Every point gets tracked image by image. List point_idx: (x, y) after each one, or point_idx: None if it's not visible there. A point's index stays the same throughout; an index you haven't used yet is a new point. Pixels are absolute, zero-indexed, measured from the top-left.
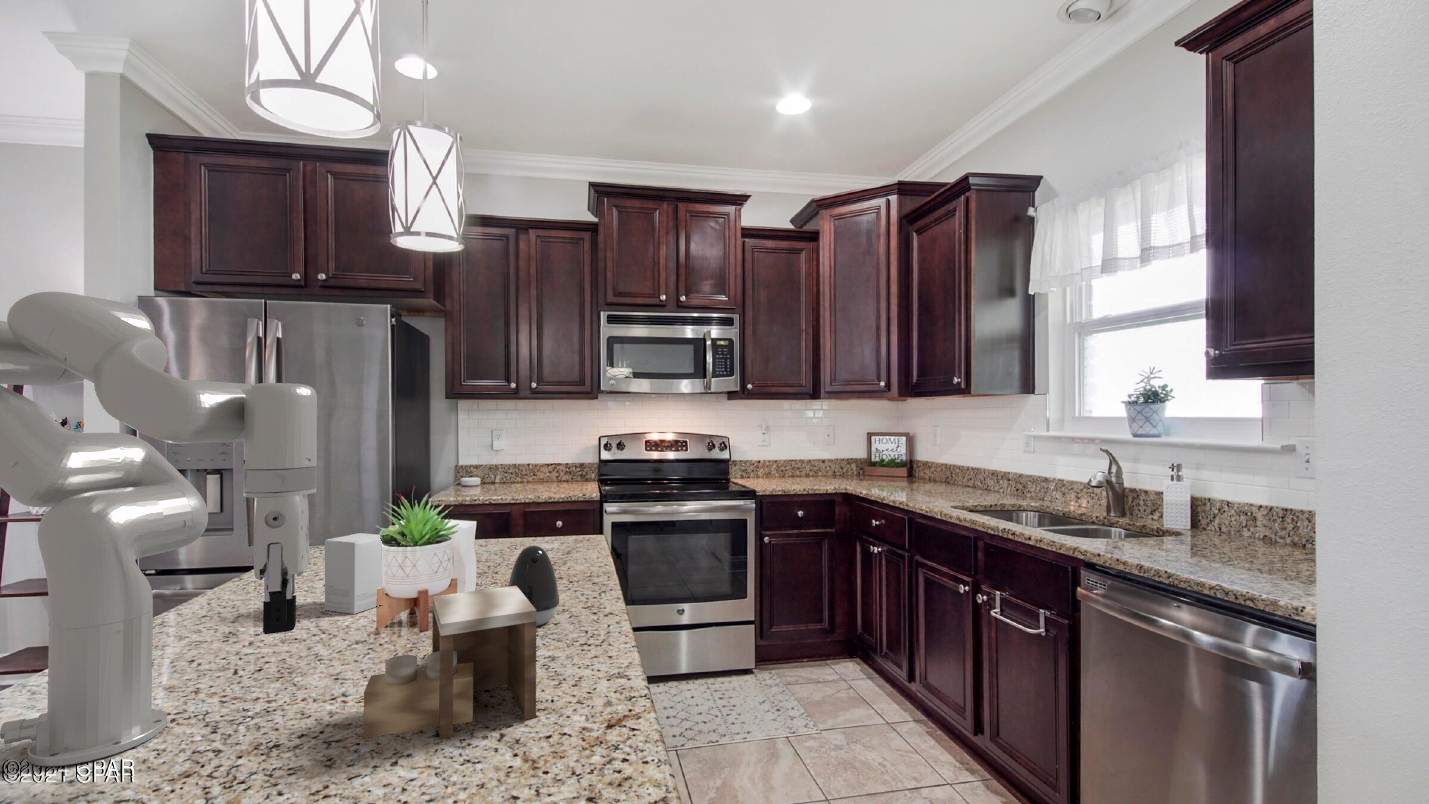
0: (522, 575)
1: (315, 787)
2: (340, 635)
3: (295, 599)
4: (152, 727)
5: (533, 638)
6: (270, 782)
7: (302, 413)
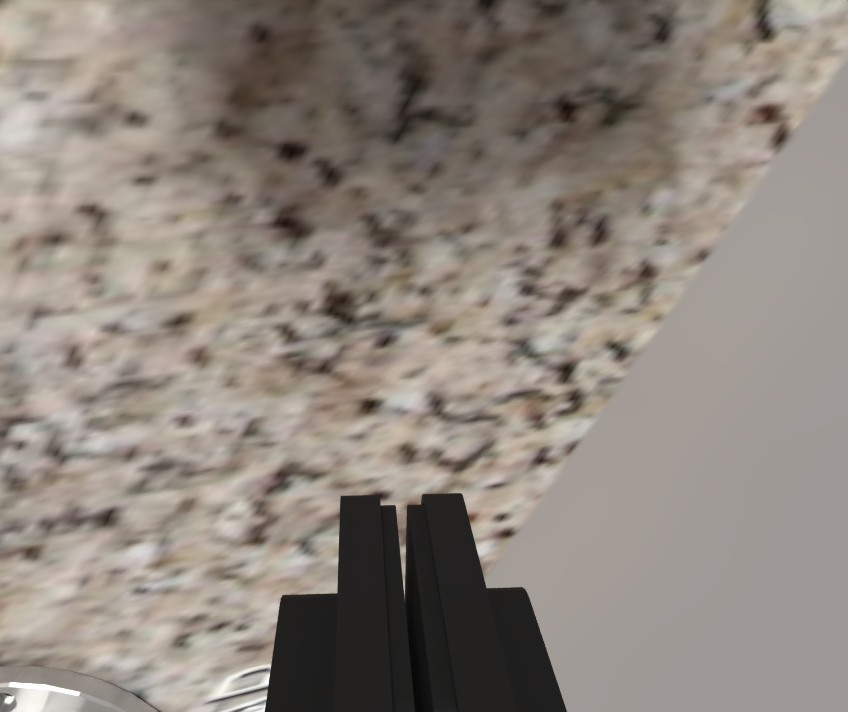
0: None
1: (749, 149)
2: None
3: (390, 690)
4: (59, 701)
5: None
6: (621, 290)
7: None
